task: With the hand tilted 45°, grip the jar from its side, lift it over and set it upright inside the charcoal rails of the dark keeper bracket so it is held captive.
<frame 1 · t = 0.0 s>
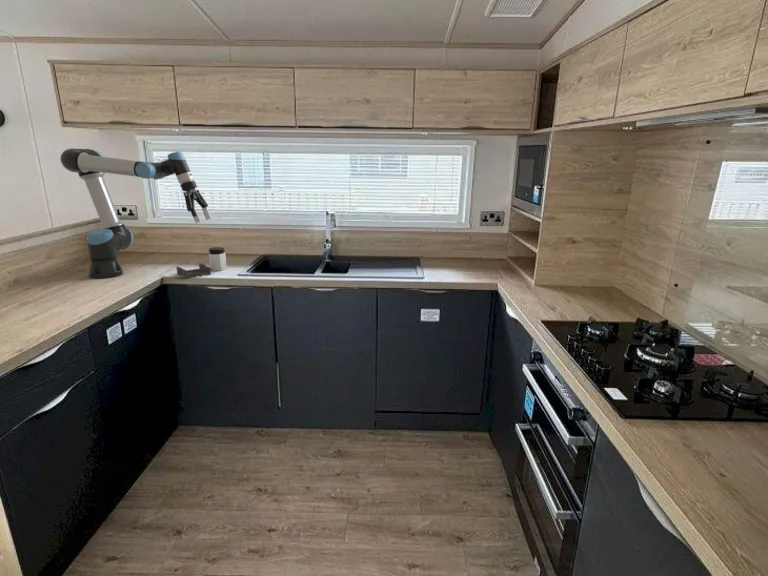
hand: (203, 220, 231), 28 cm above the worktop, tool tilted 20°, fingers open, 13 cm apart
keeper bracket: (194, 274, 232), on the worktop
jar: (218, 269, 243), on the worktop
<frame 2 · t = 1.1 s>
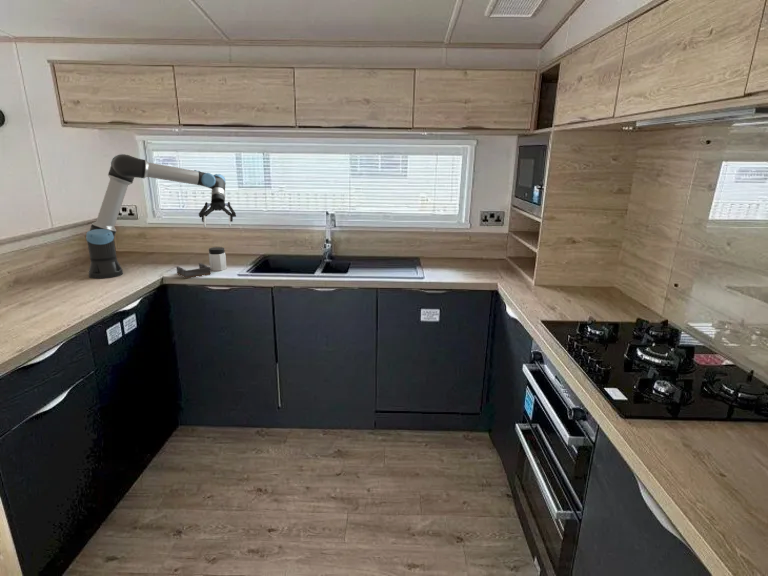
hand: (217, 226, 246), 23 cm above the worktop, tool tilted 45°, fingers open, 13 cm apart
nothing on the worktop moved.
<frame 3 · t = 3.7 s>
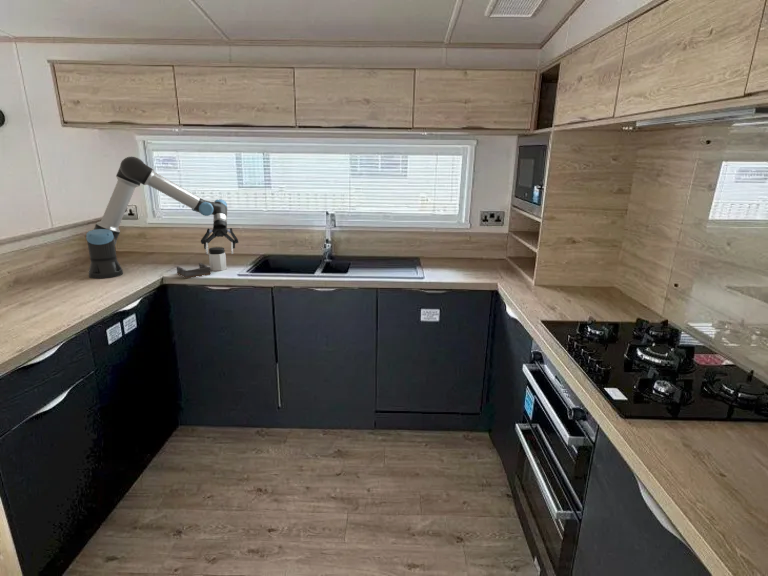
hand: (219, 253, 244), 9 cm above the worktop, tool tilted 45°, fingers open, 13 cm apart
nothing on the worktop moved.
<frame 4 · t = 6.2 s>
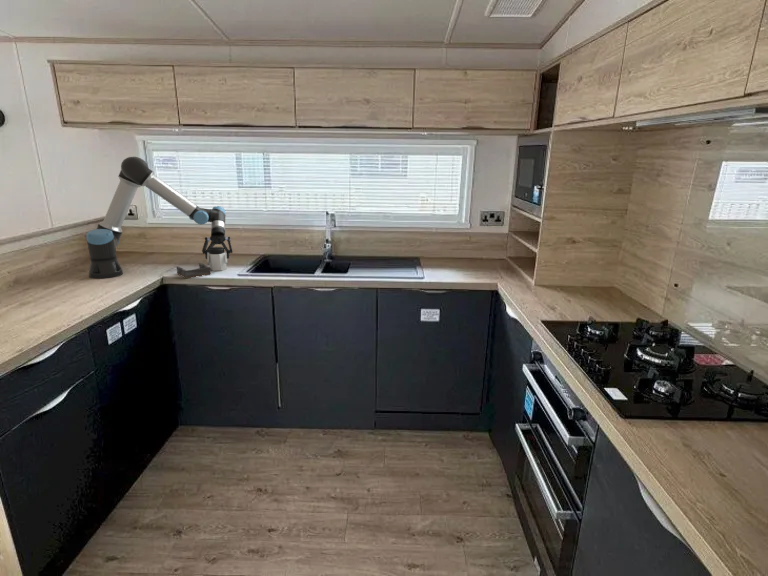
hand: (217, 263, 239), 4 cm above the worktop, tool tilted 45°, fingers closed on jar, 9 cm apart
jar: (218, 269, 243), on the worktop, touching gripper
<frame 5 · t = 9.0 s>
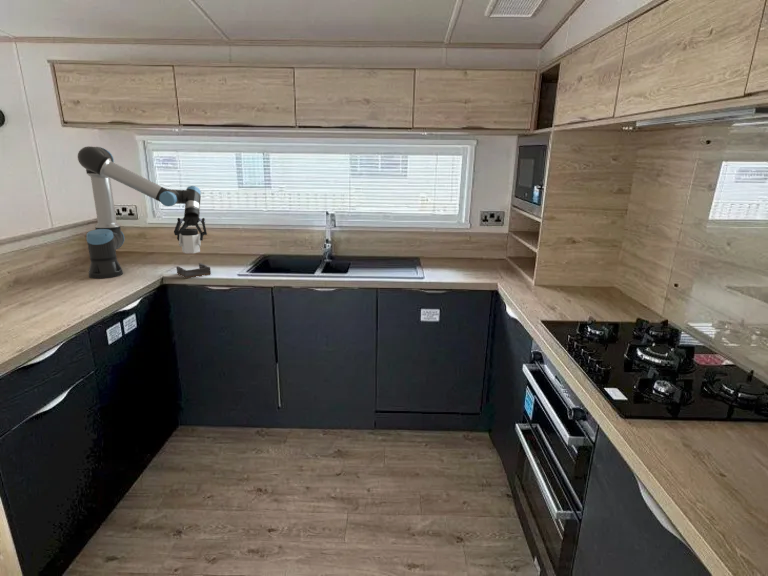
hand: (189, 245, 225), 16 cm above the worktop, tool tilted 45°, fingers closed on jar, 9 cm apart
jar: (191, 252, 229), point 12 cm above the worktop, touching gripper
when the fingers open (7 cm above the worktop, at t = 11.8 s): jar drops 1 cm, resting on keeper bracket.
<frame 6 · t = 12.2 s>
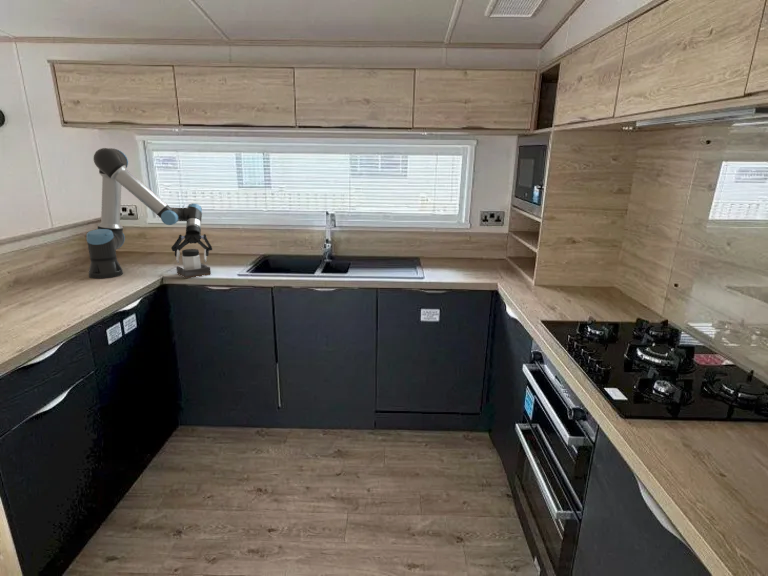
hand: (191, 261, 228), 8 cm above the worktop, tool tilted 45°, fingers open, 13 cm apart
jar: (192, 272, 232), point 1 cm above the worktop, touching keeper bracket
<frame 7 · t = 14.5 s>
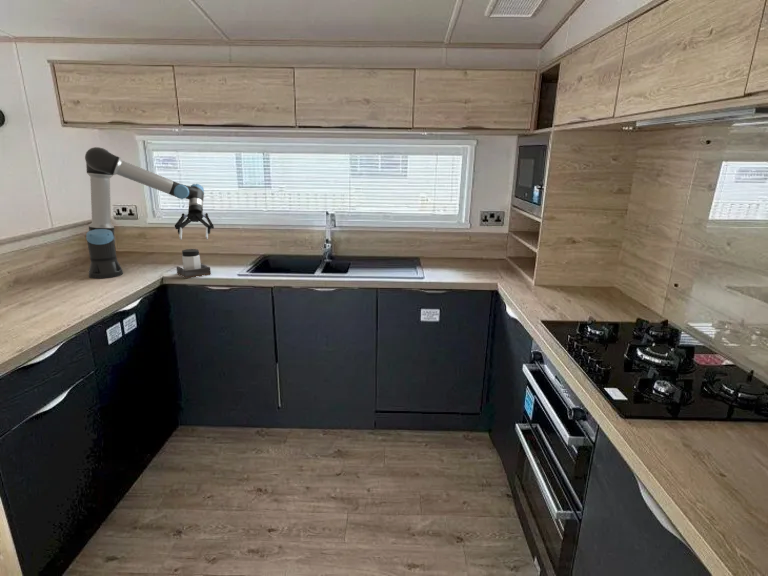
hand: (193, 238, 237), 18 cm above the worktop, tool tilted 45°, fingers open, 13 cm apart
nothing on the worktop moved.
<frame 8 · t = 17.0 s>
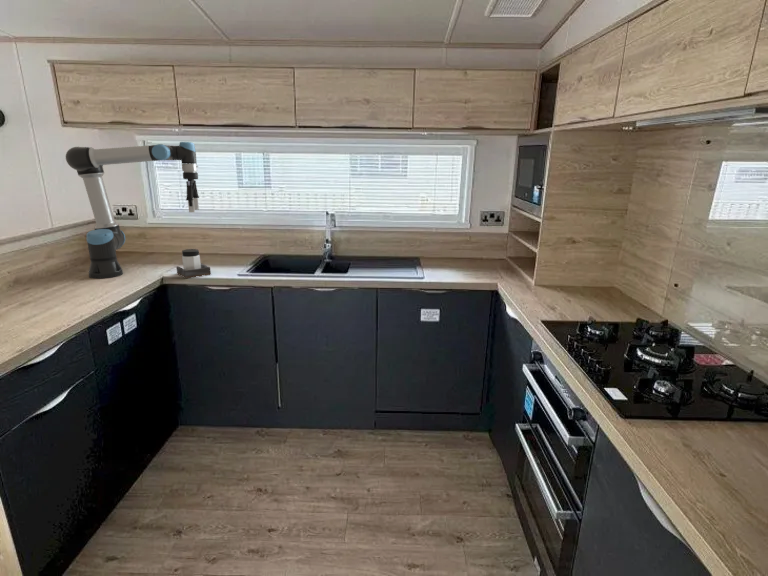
hand: (194, 211, 241), 32 cm above the worktop, tool pointing down, fingers open, 13 cm apart
nothing on the worktop moved.
at the end: keeper bracket 0.0 cm off-centre on the keeper bracket, point 0.0 cm above the keeper bracket's base; jar inside the target area on the keeper bracket (0.4 cm from its centre), point 0.8 cm above the keeper bracket's base; jar tilted 0° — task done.
